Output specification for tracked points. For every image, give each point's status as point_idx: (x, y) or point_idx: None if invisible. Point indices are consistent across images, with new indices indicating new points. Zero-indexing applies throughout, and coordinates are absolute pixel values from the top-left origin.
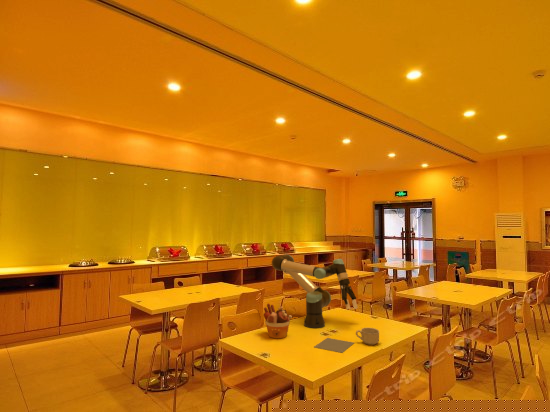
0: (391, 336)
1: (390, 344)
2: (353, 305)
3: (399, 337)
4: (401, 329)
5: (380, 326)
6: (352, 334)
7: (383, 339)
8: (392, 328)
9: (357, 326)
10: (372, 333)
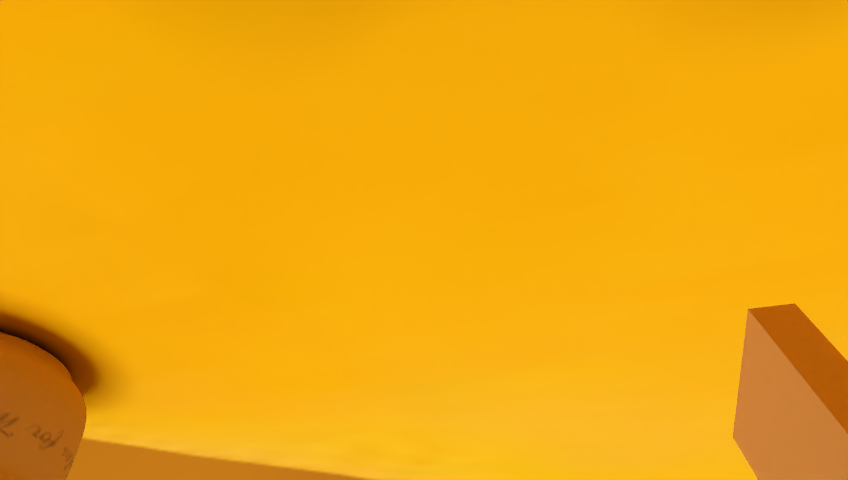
0: (393, 429)
1: (158, 446)
2: (830, 434)
3: (414, 464)
4: (739, 453)
5: (804, 303)
6: (51, 136)
7: (234, 403)
8: None
9: (618, 20)
10: (52, 438)
